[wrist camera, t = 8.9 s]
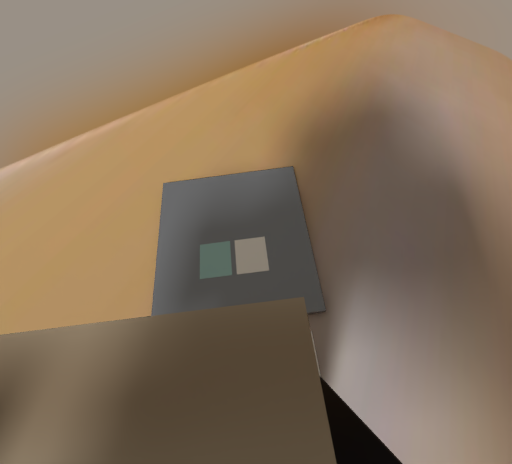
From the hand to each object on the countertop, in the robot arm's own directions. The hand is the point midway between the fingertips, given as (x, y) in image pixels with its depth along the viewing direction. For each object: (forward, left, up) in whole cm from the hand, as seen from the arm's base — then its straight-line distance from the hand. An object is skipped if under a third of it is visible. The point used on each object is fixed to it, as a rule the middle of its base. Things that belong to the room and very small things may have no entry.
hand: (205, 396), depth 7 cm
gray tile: (+8, -5, -8) cm, 12 cm away
